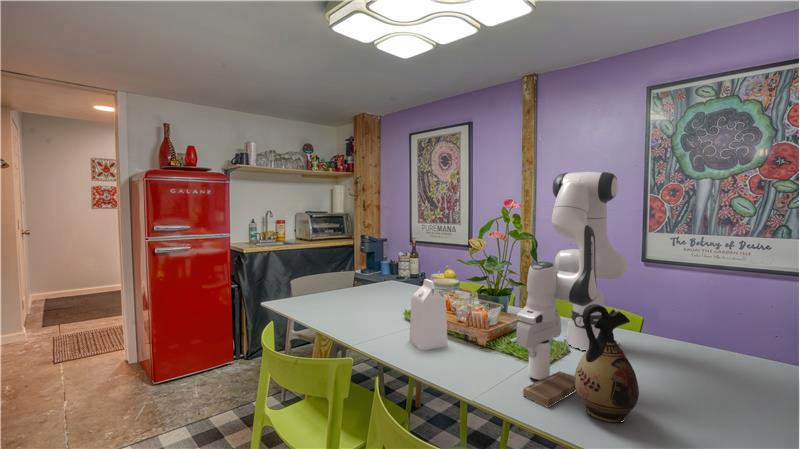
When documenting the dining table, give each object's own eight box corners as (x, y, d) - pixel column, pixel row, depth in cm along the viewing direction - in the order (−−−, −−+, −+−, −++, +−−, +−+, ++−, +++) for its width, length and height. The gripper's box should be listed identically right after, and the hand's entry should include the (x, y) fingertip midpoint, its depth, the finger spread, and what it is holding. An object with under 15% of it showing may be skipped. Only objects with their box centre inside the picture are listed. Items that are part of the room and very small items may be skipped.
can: (544, 371, 127) (545, 336, 127) (552, 380, 121) (554, 343, 120) (525, 371, 127) (526, 336, 126) (532, 380, 121) (534, 343, 120)
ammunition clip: (463, 341, 158) (464, 313, 157) (465, 340, 159) (466, 312, 158) (488, 347, 151) (489, 317, 151) (490, 345, 153) (490, 316, 152)
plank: (559, 378, 125) (559, 370, 125) (583, 387, 118) (584, 379, 118) (523, 396, 113) (523, 388, 113) (547, 408, 106) (548, 399, 106)
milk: (447, 346, 152) (448, 282, 150) (421, 350, 147) (422, 284, 146) (433, 336, 163) (434, 276, 161) (409, 340, 159) (409, 278, 157)
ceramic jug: (614, 398, 112) (619, 298, 110) (651, 429, 97) (656, 313, 95) (558, 398, 111) (561, 298, 110) (585, 430, 96) (589, 313, 94)
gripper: (549, 305, 132) (548, 344, 132) (513, 315, 119) (512, 358, 120) (566, 309, 127) (565, 350, 127) (530, 320, 114) (529, 365, 115)
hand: (539, 354), depth 124 cm, fingers closed on can, 6 cm apart
